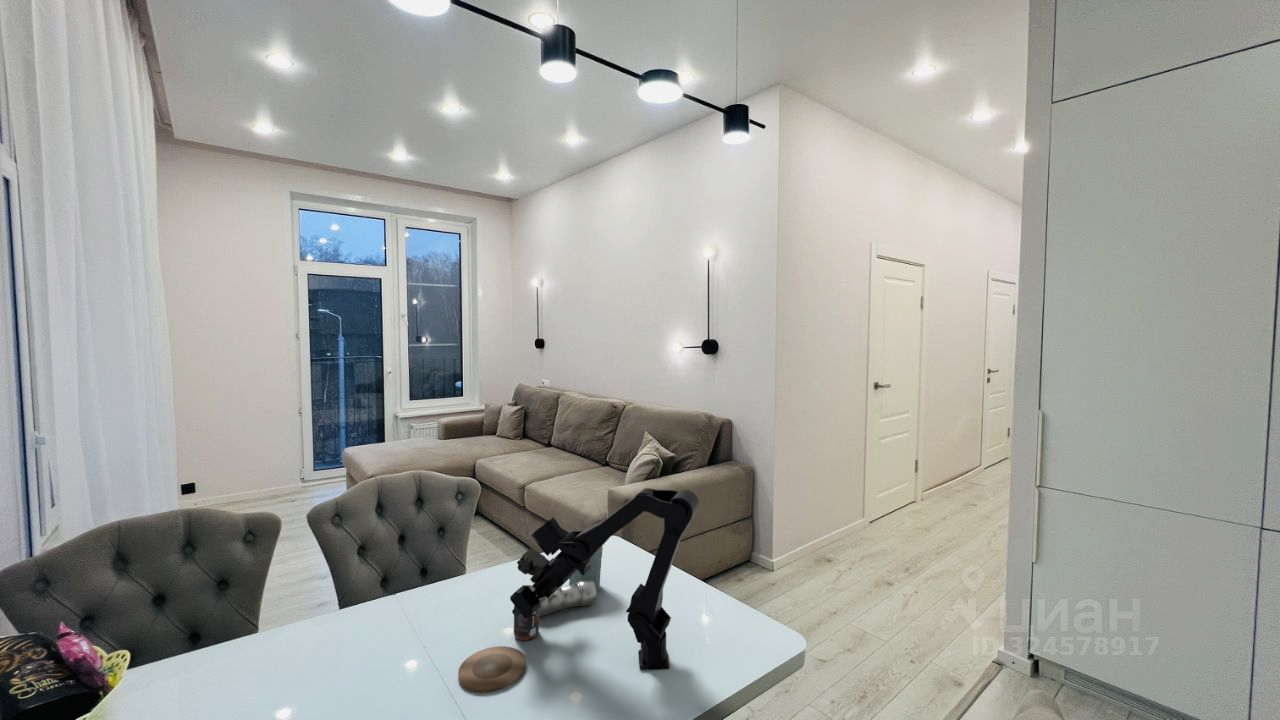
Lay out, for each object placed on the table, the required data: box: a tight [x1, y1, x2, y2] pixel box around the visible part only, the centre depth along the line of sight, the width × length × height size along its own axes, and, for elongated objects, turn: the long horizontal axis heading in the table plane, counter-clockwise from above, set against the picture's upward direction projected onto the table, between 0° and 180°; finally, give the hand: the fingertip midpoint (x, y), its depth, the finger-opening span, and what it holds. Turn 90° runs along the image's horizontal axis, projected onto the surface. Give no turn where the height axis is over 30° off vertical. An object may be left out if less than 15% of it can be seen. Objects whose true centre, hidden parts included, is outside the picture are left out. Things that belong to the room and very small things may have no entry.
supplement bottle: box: [513, 584, 540, 641], centre depth 124 cm, size 6×6×11 cm
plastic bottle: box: [539, 579, 597, 616], centre depth 135 cm, size 6×7×20 cm
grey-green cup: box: [568, 546, 604, 593], centre depth 147 cm, size 10×10×12 cm
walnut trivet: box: [457, 645, 527, 694], centre depth 111 cm, size 14×14×1 cm
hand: (520, 606), depth 124 cm, fingers closed on supplement bottle, 6 cm apart
